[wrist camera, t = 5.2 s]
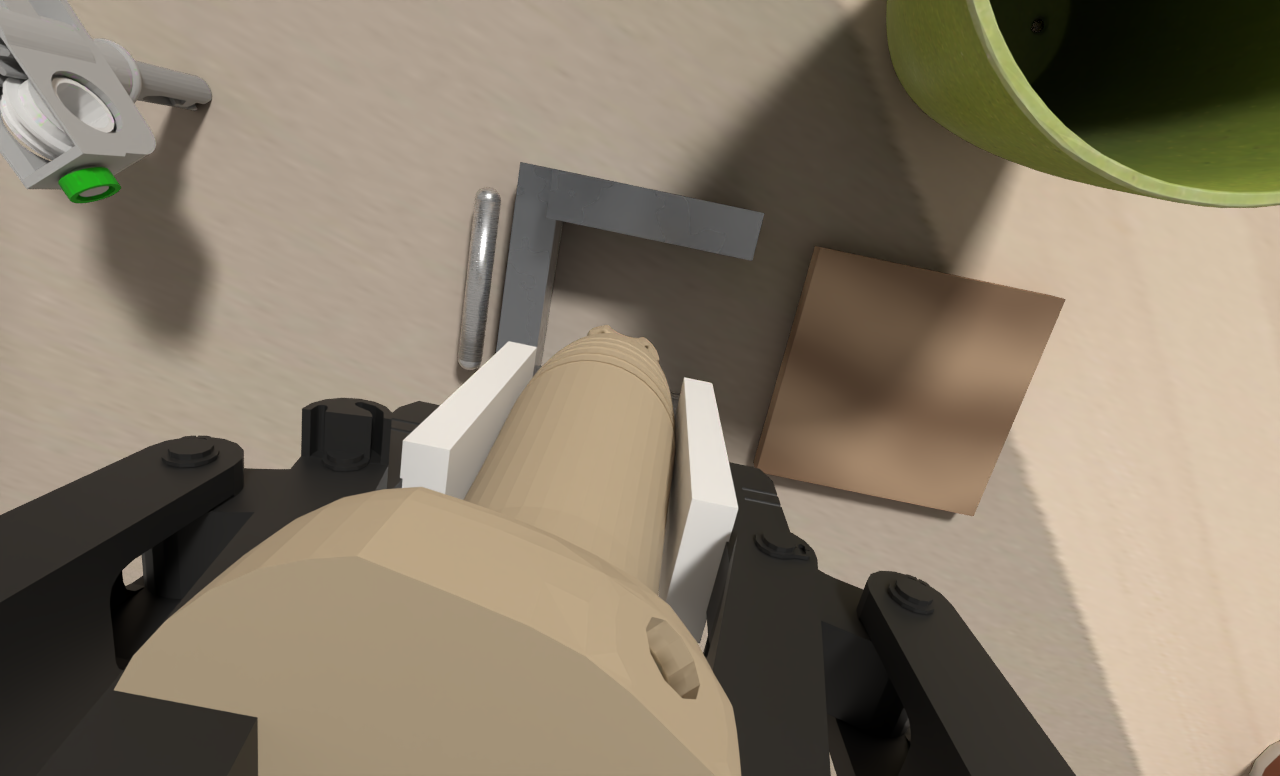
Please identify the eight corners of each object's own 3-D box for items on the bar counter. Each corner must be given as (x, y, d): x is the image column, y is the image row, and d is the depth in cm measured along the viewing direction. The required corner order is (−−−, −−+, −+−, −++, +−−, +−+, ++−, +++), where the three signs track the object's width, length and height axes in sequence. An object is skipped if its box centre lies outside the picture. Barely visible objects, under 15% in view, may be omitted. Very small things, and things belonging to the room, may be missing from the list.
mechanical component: (152, -33, 28) (-124, -154, 18) (281, 181, 30) (101, 173, 21) (103, 0, 28) (-189, -101, 19) (235, 207, 31) (38, 212, 21)
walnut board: (815, 245, 30) (820, 247, 29) (1050, 295, 30) (1065, 299, 29) (753, 462, 33) (756, 471, 32) (962, 505, 34) (973, 516, 32)
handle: (621, 482, 21) (512, 1120, 7) (493, 342, 19) (3, 761, 5) (733, 400, 20) (896, 955, 5) (605, 244, 18) (373, 440, 4)
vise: (488, 155, 29) (456, 148, 25) (750, 210, 29) (764, 213, 25) (462, 385, 33) (430, 413, 29) (695, 433, 33) (699, 468, 29)
